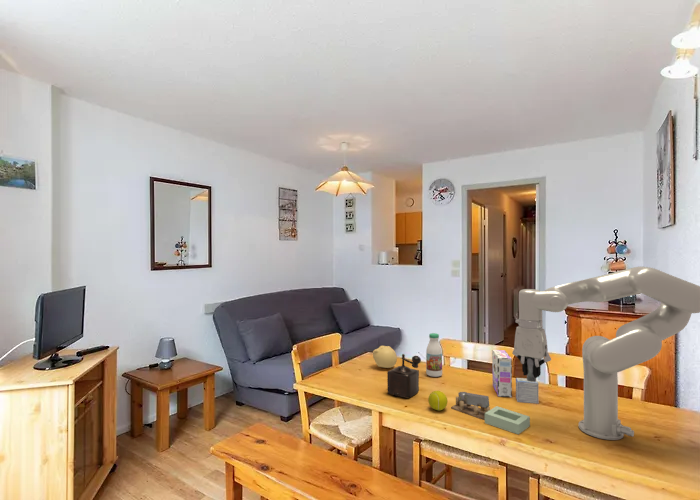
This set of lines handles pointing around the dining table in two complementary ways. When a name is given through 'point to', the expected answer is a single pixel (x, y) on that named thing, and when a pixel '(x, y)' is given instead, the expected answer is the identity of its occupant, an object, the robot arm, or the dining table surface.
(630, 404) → the dining table surface
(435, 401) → the tennis ball
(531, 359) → the pin
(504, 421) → the slot block
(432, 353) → the milk bottle
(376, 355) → the beige rounded lump
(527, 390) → the medicine box
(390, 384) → the manual coffee grinder
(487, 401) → the spanner bar
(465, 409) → the peg rack
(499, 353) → the candy box
